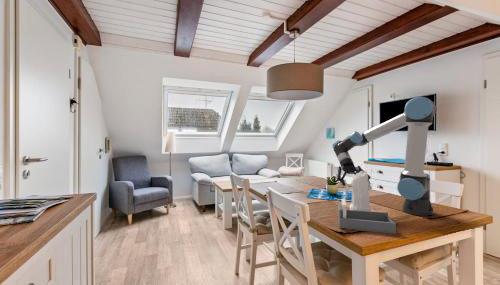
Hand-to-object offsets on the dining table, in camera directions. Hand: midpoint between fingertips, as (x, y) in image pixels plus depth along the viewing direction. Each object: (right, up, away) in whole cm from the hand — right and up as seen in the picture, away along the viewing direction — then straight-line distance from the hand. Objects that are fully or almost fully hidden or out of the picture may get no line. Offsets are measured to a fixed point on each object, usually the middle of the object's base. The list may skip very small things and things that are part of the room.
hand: (359, 189), depth 133 cm
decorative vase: (+1, -14, 0) cm, 14 cm away
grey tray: (-5, -14, -16) cm, 22 cm away
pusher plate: (-14, -13, -13) cm, 23 cm away
